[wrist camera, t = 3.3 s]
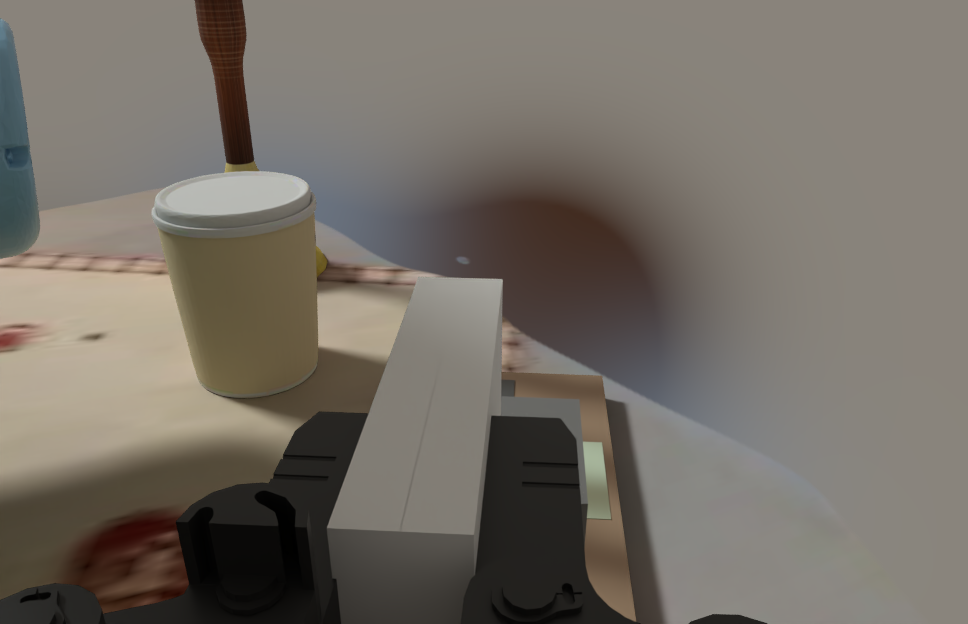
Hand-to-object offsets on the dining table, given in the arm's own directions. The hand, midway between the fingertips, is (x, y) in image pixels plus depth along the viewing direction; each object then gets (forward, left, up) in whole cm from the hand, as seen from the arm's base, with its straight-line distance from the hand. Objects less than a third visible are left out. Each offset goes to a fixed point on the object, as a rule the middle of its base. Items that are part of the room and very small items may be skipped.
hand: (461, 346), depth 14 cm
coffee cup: (-34, +5, -19) cm, 40 cm away
